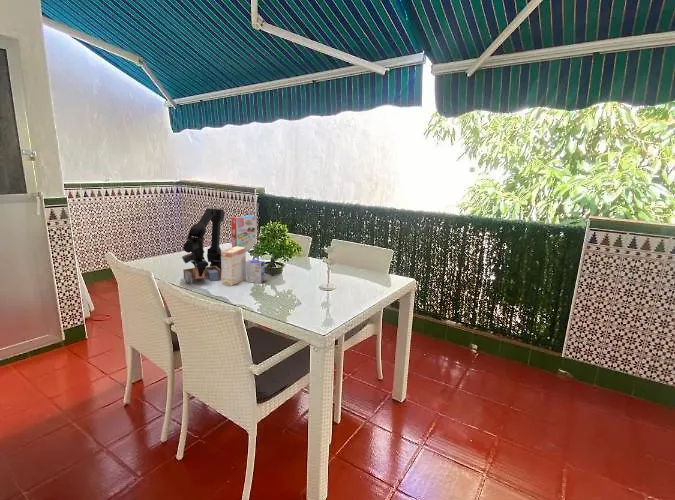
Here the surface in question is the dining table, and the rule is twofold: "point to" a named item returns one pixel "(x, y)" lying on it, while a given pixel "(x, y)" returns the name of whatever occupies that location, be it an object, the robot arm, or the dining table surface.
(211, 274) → the blue-grey plain cube block
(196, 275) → the salmon rectangular block
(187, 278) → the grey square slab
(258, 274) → the ink cartridge box
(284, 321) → the dining table surface
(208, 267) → the shelf
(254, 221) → the game box
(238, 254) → the coffeecake box
